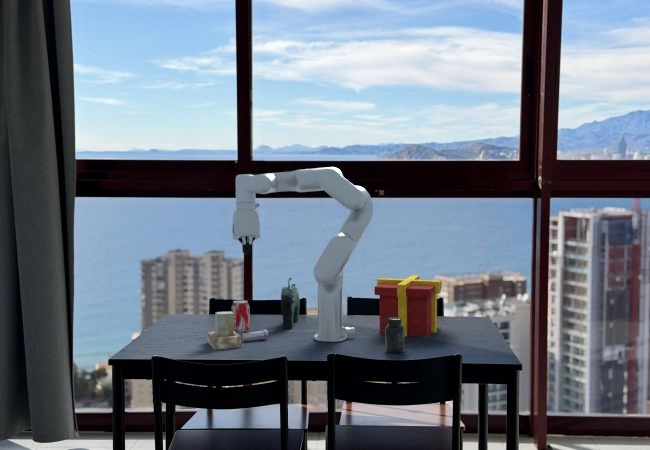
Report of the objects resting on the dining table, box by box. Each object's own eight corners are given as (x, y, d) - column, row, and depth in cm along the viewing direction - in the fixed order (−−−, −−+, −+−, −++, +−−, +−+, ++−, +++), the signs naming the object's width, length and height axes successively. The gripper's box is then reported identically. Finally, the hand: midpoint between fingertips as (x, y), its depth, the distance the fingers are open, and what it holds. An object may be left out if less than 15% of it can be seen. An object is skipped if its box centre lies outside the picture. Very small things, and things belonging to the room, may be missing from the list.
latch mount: (239, 339, 328) (239, 329, 328) (243, 342, 322) (243, 332, 322) (232, 340, 327) (231, 329, 327) (236, 343, 321) (235, 332, 321)
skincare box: (217, 346, 316) (216, 314, 315) (215, 344, 320) (214, 312, 319) (234, 345, 318) (234, 312, 317) (231, 342, 322) (231, 310, 321)
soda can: (247, 333, 339) (246, 303, 338) (229, 332, 340) (229, 302, 339) (252, 329, 346) (251, 300, 345) (235, 329, 347) (234, 299, 346)
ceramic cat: (293, 330, 344) (292, 280, 342) (277, 329, 345) (276, 280, 343) (302, 320, 364) (301, 273, 362) (287, 319, 365) (286, 273, 363)
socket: (233, 340, 327) (233, 330, 326) (241, 347, 315) (241, 336, 315) (207, 342, 323) (207, 332, 323) (214, 349, 312) (214, 338, 312)
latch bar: (266, 334, 330) (266, 328, 330) (269, 335, 327) (269, 330, 327) (238, 337, 327) (238, 332, 326) (241, 339, 323) (240, 334, 323)
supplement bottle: (403, 349, 310) (403, 316, 309) (405, 353, 303) (405, 320, 302) (384, 349, 309) (384, 316, 308) (386, 354, 303) (386, 320, 302)
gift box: (433, 339, 325) (433, 286, 323) (369, 335, 333) (369, 283, 332) (446, 326, 349) (446, 276, 347) (386, 322, 357) (386, 274, 355)
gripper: (262, 205, 334) (262, 252, 336) (224, 206, 329) (225, 254, 331) (267, 206, 327) (268, 254, 329) (229, 208, 322) (230, 256, 324)
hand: (246, 254), depth 330 cm, fingers closed
